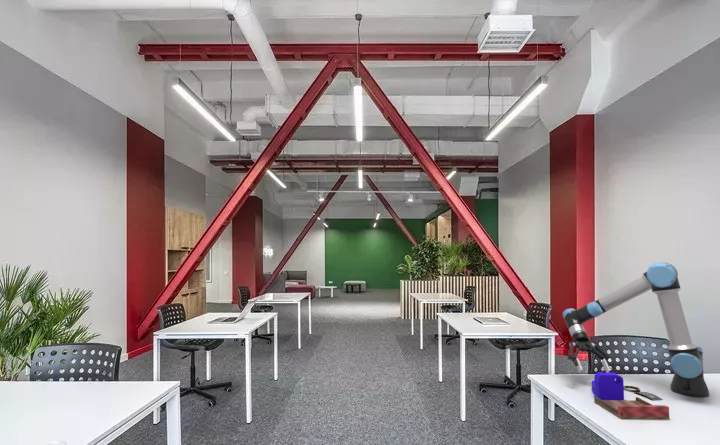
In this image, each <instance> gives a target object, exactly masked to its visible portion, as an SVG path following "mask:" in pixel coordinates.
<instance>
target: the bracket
mask: <svg viewBox="0 0 720 445" xmlns="http://www.w3.org/2000/svg"><path fill="white" fill-rule="evenodd" d="M624 384H625V382H624V378H623V377H622V376H621V375H619V374H617V373H616V372H609V373H606V372H602V371H601V372H596V373H595V374H594V380H591V391H592V394H593V395H594V396H593V397H598V398H599V399H601V400H625V390H624V386H625V385H624Z"/></svg>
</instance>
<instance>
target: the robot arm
mask: <svg viewBox="0 0 720 445" xmlns="http://www.w3.org/2000/svg"><path fill="white" fill-rule="evenodd" d="M678 276H679V274H678V270H677V269H676V267H675V266H674V265H672V264H670V263H668V262H657V263H653V264H652V265H649V267H648V269H647V271H645V272H644V273H642V276H640V277H639V278H636V279H635V280H633V281H631V282H629V283H627V284H625V285H623V286H621V287H620V288H618V289H616V290H614V291H611V292H610V293H608V294H606V295H605V296H602V297H600V298H598V299H597V300H594V301H592V302H589V303H587V304H586V305H583V306H581V307H579V308H577V309H575V308H572V307H571V308H566V309H565V310H563V312H562V317H563V320H564V322H565V324H566V327H567V329H568V331H569V334H570V336H571V339H572V341H570V342H569V343H568V347H569V349H568V354H567V359H568V360H569V361H570V360H571V362H573V364H574V366H575V367H576V368H577V371H578V373H580V374H582V372H583V367H582V365H581V362H580V359H579V358H577V356H578V355H579V353H580V352H586V353H587V352H589V353H590V354H593V355H594V356H595V357H597V358H598V359H599V360H601V364H602V367H603V368H604V370H605V373H611V369H610V367H609V366H610V364H609V361H608V360H609V359H610V356H609V355H608V354H607V352H605V350H604V349H602V348H601V346H600V345H599V344H598V343H597V342H596V341H594V342H591V341H590V338H589V336H588V334H587V331H586V329H585V327H584V326H583V324H584V323H586V322H588V321H591V320H592V319H595V318H598V317H599V316H601V315H603V314H605V313H606V312H608V311H610V310H612V309H614V308H616V307H619V306H620V305H622V304H624V303H627V302H629V301H631V300H632V299H634V298H636V297H638V296H641V295H643V294H644V293H646V292H647V293H648V292H649V291H650V290H651V291H652V293H654V294H655V295H656V296H657V301H658V304H659V307H660V311H661V315H662V319H663V323H664V326H665V329H666V333H667V337H668V340H669V346H667V352H668V356H669V359H670V367H671V369H672V370H673V372H674V374H673V377H672V381H671V383H670V391H672V392H674V393H675V394H680V395H684V396H688V397H694V398H695V397H696V398H707V397H709V396H710V391H709V388H708V385H707V384H706V381H705V377H704V362H703V361H704V359H703V358H704V357H703V354H704V352H703V349H702V347H701V346H698V345H695V344H694V343H693V342H692V338H691V334H690V331H689V328H688V323H687V320H686V316H685V313H684V310H683V306H682V302H681V298H680V295H679V292H680V291H681V285H680V282H679V278H678ZM574 347H576V348H577V349H576V351H575V353H574ZM573 354H574V355H573Z"/></svg>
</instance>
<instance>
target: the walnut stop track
mask: <svg viewBox="0 0 720 445" xmlns="http://www.w3.org/2000/svg"><path fill="white" fill-rule="evenodd" d="M593 398H594V399H593V400H594V401H593V402H594V403H595V404H597V405H598V406H599V407H601V408H603V409H604V410H605V411H607V412H609V413H611V414H612V415H614V416H615V417H617V418H619V419H620V420H667V421H668V420H670V407H669V406H668V405H663V404H662V405H661V404H660V405H659V404H656V405H655V404H652V403H650V402H648V401H646V400H644V399H642V398H641V397H639V396H635V400H633V399H632V400H629V399H628V400H627V399H626V400H625V399H624V400H601V399H599V398H598V397H595V396H593Z"/></svg>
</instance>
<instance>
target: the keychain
mask: <svg viewBox="0 0 720 445" xmlns="http://www.w3.org/2000/svg"><path fill="white" fill-rule="evenodd" d="M625 391H627V392H629V393H634V394H635V395H641V396H645V397H647V398H648V399H649V400H650V401H661V400H663V398H661V397H660V396H659V395H655V394H654V393H651V392H648V391H647V392H646V391H641V388H639V387H637V386H634V385H624V392H625Z"/></svg>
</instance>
